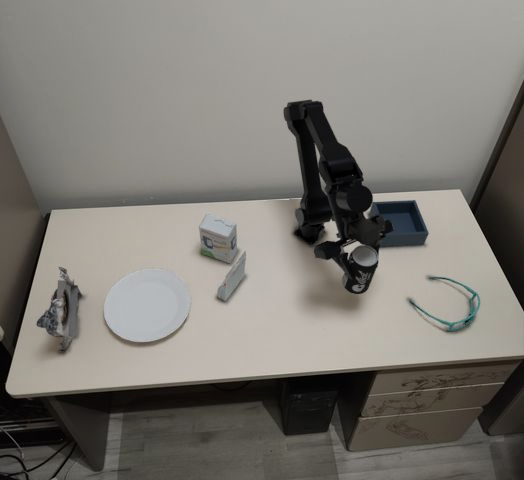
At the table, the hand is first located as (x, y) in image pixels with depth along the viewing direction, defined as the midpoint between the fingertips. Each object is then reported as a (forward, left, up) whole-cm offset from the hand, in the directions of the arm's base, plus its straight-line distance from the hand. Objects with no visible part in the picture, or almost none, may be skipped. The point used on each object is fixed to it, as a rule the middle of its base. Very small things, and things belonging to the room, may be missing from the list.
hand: (363, 273), depth 112 cm
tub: (-5, +29, -14) cm, 33 cm away
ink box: (-36, -11, -14) cm, 40 cm away
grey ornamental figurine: (-48, -50, -14) cm, 71 cm away
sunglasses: (+18, +15, -14) cm, 27 cm away
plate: (-37, -35, -14) cm, 53 cm away
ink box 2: (-26, -17, -14) cm, 34 cm away
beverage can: (-1, +1, -7) cm, 7 cm away
